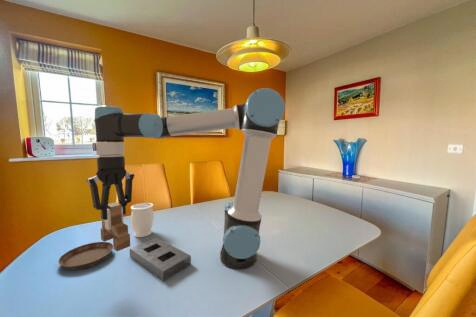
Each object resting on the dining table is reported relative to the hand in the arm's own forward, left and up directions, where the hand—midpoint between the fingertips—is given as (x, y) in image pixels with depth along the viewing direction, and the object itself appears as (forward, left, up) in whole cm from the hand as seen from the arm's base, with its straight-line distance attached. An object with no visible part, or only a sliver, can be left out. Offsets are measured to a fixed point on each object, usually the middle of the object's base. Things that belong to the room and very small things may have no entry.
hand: (114, 226), depth 66 cm
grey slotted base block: (0, -16, -20) cm, 25 cm away
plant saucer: (+24, +1, -20) cm, 31 cm away
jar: (+28, -24, -20) cm, 42 cm away
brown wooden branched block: (0, 0, -6) cm, 6 cm away
